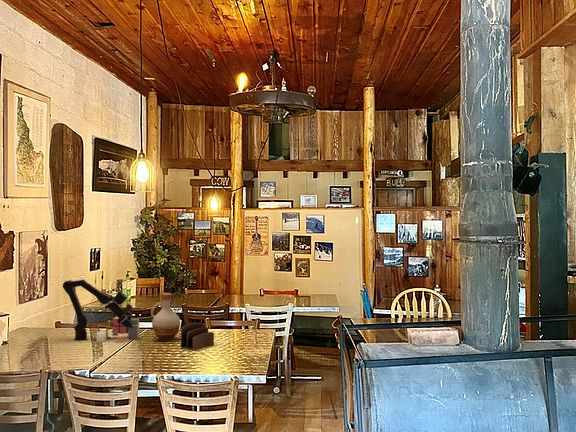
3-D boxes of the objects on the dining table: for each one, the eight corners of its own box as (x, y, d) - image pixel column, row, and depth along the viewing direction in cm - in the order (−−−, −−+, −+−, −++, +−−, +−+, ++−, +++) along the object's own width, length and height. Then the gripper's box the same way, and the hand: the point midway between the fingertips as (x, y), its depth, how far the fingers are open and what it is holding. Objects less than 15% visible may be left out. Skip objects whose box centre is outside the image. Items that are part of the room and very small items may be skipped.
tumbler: (127, 339, 364) (128, 320, 364) (129, 337, 370) (129, 318, 370) (137, 339, 365) (137, 320, 365) (139, 337, 371) (139, 318, 371)
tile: (117, 342, 353) (117, 341, 353) (113, 340, 360) (113, 339, 360) (129, 341, 357) (129, 339, 357) (126, 339, 364) (126, 337, 364)
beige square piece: (97, 342, 354) (97, 333, 354) (95, 341, 359) (95, 331, 359) (107, 341, 357) (107, 332, 358) (105, 340, 362) (105, 330, 363)
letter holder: (180, 349, 337) (180, 325, 337) (201, 343, 354) (201, 320, 354) (193, 350, 332) (193, 326, 332) (214, 345, 349) (214, 322, 349)
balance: (96, 340, 361) (96, 325, 361) (94, 339, 365) (94, 324, 365) (119, 338, 368) (119, 323, 368) (117, 336, 373) (117, 322, 373)
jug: (144, 341, 357) (144, 294, 358) (157, 336, 374) (157, 291, 375) (172, 343, 353) (173, 295, 353) (184, 337, 370) (185, 292, 370)
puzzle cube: (126, 333, 385) (126, 318, 386) (112, 333, 386) (112, 318, 386) (131, 330, 395) (131, 316, 396) (116, 330, 396) (117, 316, 396)
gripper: (122, 302, 358) (140, 319, 359) (128, 298, 377) (144, 315, 377) (109, 315, 357) (127, 332, 358) (116, 310, 376) (132, 327, 377)
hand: (133, 326), depth 367 cm, fingers open, 9 cm apart
